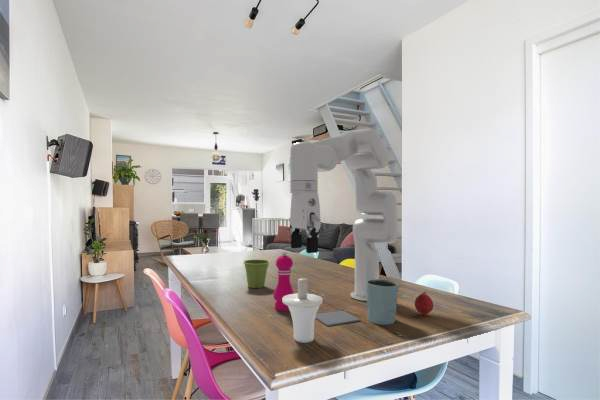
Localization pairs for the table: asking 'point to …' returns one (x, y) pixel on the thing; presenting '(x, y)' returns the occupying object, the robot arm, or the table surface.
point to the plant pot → (256, 272)
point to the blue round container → (381, 301)
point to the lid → (302, 297)
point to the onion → (424, 304)
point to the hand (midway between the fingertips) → (303, 250)
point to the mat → (336, 318)
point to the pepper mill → (283, 281)
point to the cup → (303, 322)
